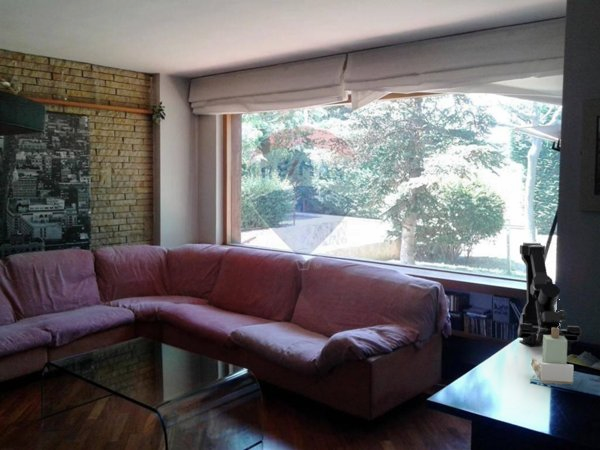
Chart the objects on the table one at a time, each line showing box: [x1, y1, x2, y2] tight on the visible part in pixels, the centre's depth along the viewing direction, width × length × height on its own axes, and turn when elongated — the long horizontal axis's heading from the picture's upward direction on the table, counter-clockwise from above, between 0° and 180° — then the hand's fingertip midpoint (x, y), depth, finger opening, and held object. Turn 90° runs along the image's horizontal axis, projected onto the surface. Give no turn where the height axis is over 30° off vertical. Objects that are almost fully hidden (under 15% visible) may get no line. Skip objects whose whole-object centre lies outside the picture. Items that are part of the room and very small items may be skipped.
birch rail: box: [530, 357, 574, 385], centre depth 174 cm, size 17×9×2 cm, turn 167°
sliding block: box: [541, 327, 568, 364], centre depth 170 cm, size 5×6×15 cm
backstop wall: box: [541, 363, 575, 383], centre depth 167 cm, size 2×9×5 cm, turn 77°
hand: (552, 355), depth 173 cm, fingers closed
